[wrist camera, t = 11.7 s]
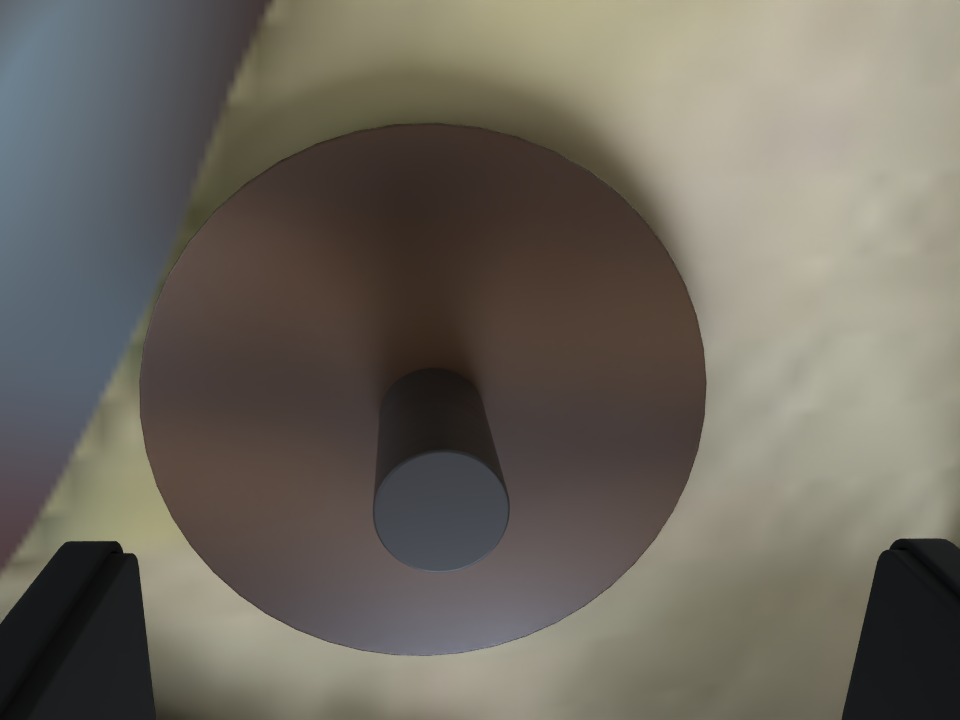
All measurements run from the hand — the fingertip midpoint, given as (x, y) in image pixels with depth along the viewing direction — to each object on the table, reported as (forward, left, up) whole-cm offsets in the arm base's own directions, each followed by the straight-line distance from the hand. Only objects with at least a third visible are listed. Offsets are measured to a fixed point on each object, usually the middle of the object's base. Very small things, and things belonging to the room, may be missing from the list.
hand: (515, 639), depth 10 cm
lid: (+1, -1, -11) cm, 11 cm away
